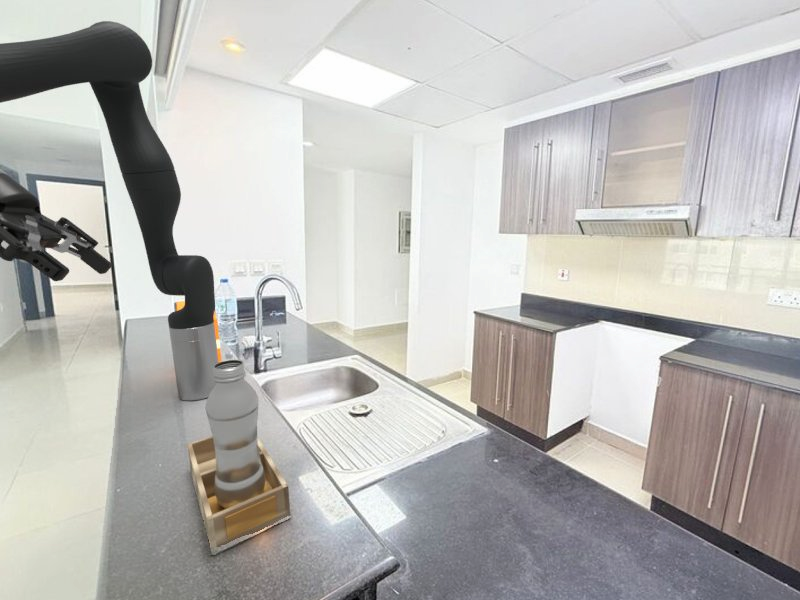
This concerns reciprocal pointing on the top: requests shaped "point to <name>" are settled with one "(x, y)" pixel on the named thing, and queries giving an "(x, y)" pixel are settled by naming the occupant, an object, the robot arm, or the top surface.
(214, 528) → the tray
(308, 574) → the top surface
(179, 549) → the top surface
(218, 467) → the plastic bottle
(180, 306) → the orange juice
